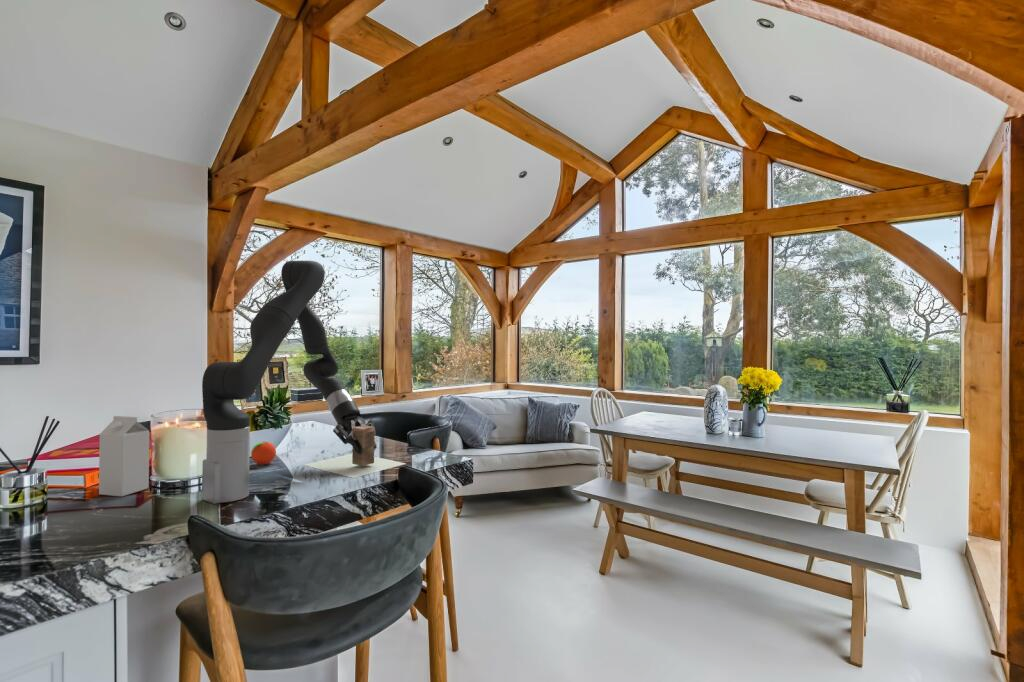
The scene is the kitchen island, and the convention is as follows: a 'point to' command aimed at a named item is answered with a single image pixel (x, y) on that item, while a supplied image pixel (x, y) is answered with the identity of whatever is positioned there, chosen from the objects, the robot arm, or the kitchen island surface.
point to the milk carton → (123, 457)
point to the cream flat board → (353, 466)
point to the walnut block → (364, 445)
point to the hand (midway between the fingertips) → (367, 450)
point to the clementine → (263, 453)
